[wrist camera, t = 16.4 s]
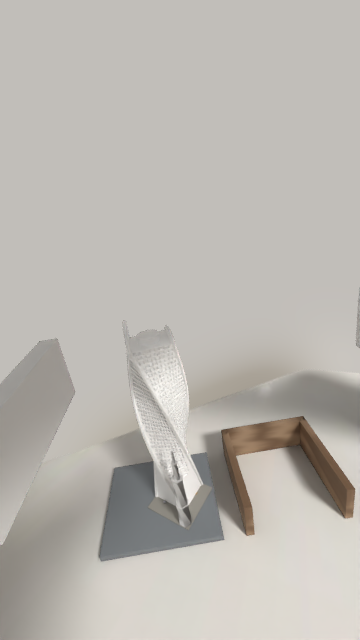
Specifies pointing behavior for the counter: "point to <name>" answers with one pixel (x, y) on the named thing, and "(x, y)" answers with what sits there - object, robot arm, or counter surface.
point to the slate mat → (153, 515)
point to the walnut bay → (279, 437)
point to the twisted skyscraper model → (164, 423)
